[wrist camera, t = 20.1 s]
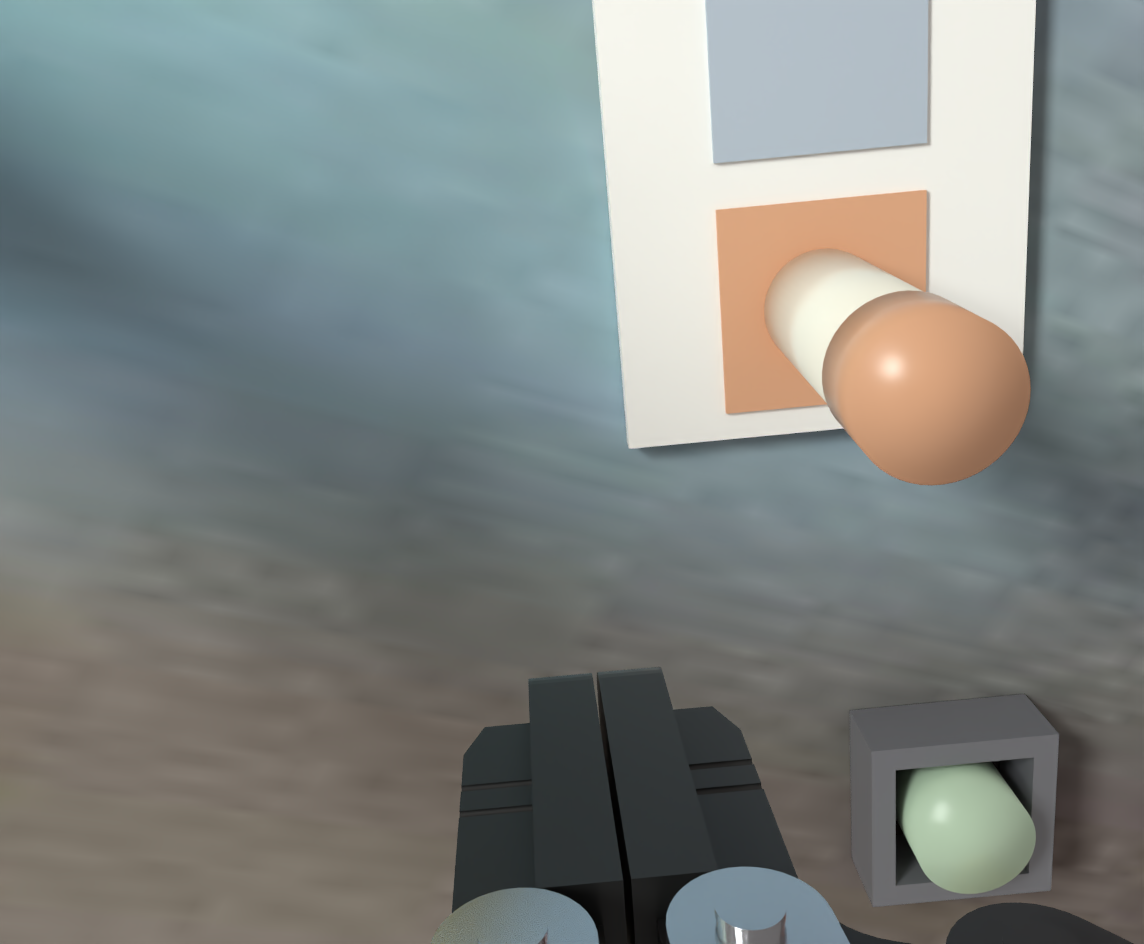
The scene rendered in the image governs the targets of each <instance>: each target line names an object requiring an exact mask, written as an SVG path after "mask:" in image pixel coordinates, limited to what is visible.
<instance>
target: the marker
mask: <svg viewBox="0 0 1144 944" xmlns="http://www.w3.org/2000/svg"><path fill="white" fill-rule="evenodd" d="M764 317H765V324H766V327H767V330H768V333H769V335H770V337H771V339H772V340H773V342H774V343H775V345H776V346H777V347H778V348H779V349H780V350H781V352H782V353H783V354H784V355H785V356H786V357H787V358H788V360H789V361H790V362H791V363H792V364H793V365H794V366H795V368H796V369H797V370H798V371H799V372H800V373H801V374H802V376H803V377H804V378H805V379H806V380H807V381H808V382H809V384H810V385H811V386H812V387H813V388H814V389H815V390H816V392H817V393H818V394H819V395H820V396H821V397H822V398H823V400H824V401H825V402H826V403H827V405H828V407H829V409H830V411H831V413H832V414H833V416H834V417H835V419H836V420H837V421H838V422H839V424H840V425H841V426H842V427H843V428H844V429H845V431H846V432H847V433H848V434H849V435H850V436H851V438H852V439H853V440H854V441H855V442H856V443H857V445H858V446H859V447H860V448H861V449H862V450H863V452H864V453H865V454H866V455H867V456H868V457H869V459H870V460H871V461H872V462H873V463H874V464H875V465H876V466H878V467H879V468H880V469H881V470H883V471H884V472H886V473H887V474H889V475H891V476H893V477H895V478H897V479H899V480H902V481H906V482H909V483H914V484H919V485H942V484H948V483H953V482H957V481H960V480H963V479H966V478H968V477H970V476H972V475H975V474H977V473H979V472H980V471H982V470H983V469H985V468H987V467H988V466H989V465H991V464H992V463H993V462H995V461H996V460H997V459H998V458H999V457H1000V456H1001V455H1002V454H1003V453H1004V452H1005V451H1006V450H1007V449H1008V448H1009V446H1010V445H1011V444H1012V443H1013V441H1014V440H1015V438H1016V436H1017V435H1018V433H1019V431H1020V429H1021V427H1022V425H1023V423H1024V421H1025V418H1026V415H1027V412H1028V407H1029V402H1030V391H1031V386H1030V376H1029V371H1028V367H1027V364H1026V361H1025V359H1024V356H1023V354H1022V352H1021V351H1020V349H1019V347H1018V346H1017V344H1016V343H1015V342H1014V341H1013V339H1012V338H1011V337H1010V336H1009V335H1008V334H1007V333H1006V332H1005V331H1004V330H1002V329H1001V328H999V327H998V326H997V325H995V324H994V323H992V322H990V321H988V320H986V319H984V318H982V317H980V316H978V315H976V314H974V313H972V312H970V311H968V310H966V309H965V308H963V307H961V306H959V305H957V304H955V303H953V302H951V301H949V300H947V299H945V298H943V297H941V296H938V295H935V294H932V293H929V292H923V291H921V290H919V289H917V288H916V287H914V286H912V285H910V284H908V283H906V282H904V281H902V280H900V279H899V278H897V277H895V276H893V275H891V274H889V273H887V272H885V271H883V270H881V269H880V268H878V267H876V266H874V265H872V264H870V263H868V262H866V261H864V260H862V259H861V258H859V257H857V256H855V255H853V254H851V253H849V252H846V251H843V250H838V249H830V248H824V249H816V250H812V251H808V252H806V253H803V254H801V255H799V256H797V257H795V258H794V259H792V260H791V261H789V262H788V263H787V264H786V265H785V266H784V267H783V268H782V269H781V270H780V271H779V272H778V273H777V275H776V276H775V278H774V279H773V281H772V283H771V285H770V287H769V289H768V292H767V295H766V299H765V306H764Z"/></svg>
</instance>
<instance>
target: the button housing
mask: <svg viewBox="0 0 1144 944" xmlns="http://www.w3.org/2000/svg"><path fill="white" fill-rule="evenodd" d="M1058 747H1059V733H1058V732H1057V731H1056V730H1055V729H1054V728H1053V726H1052V725H1051V724H1050V723H1049V722H1048V721H1047V719H1046V718H1045V717H1044V716H1043V715H1042V714H1041V712H1040V711H1039V710H1038V709H1037V708H1036V707H1035V705H1034V704H1033V703H1032V702H1031V701H1030V700H1029V698H1028V697H1027V696H1026V695H1025V694H1018V695H1007V696H997V697H986V698H975V699H965V700H954V701H943V702H933V703H922V704H911V705H901V706H890V707H879V708H869V709H858V710H850V773H851V840H852V859H853V862H854V864H855V866H856V869H857V871H858V874H859V876H860V878H861V881H862V883H863V885H864V888H865V890H866V892H867V895H868V897H869V899H870V902H871V904H872V907H879V906H890V905H900V904H911V903H922V902H933V901H943V900H954V899H965V898H976V897H987V896H997V895H1008V894H1019V893H1030V892H1040V891H1051V880H1052V861H1053V842H1054V823H1055V804H1056V785H1057V766H1058ZM990 761H1000V772H999V773H1000V774H1001V776H1002V777H1003V778H1004V780H1005V781H1006V783H1007V784H1008V785H1009V787H1010V788H1011V790H1012V791H1013V792H1014V794H1015V795H1016V797H1017V798H1018V800H1019V801H1020V802H1021V804H1022V805H1023V807H1024V808H1025V809H1026V811H1027V812H1028V814H1029V815H1030V817H1031V819H1032V821H1033V823H1034V826H1035V831H1036V842H1035V848H1034V851H1033V854H1032V856H1031V858H1030V860H1029V862H1028V863H1027V865H1026V866H1025V868H1024V869H1023V870H1022V871H1021V872H1020V873H1019V874H1018V875H1017V876H1016V877H1015V878H1013V879H1012V880H1011V881H1009V882H1008V883H1006V884H1005V885H1003V886H1001V887H999V888H996V889H994V890H991V891H987V892H983V893H977V894H961V893H955V892H951V891H948V890H945V889H943V888H941V887H939V886H938V885H936V884H935V883H933V882H932V881H931V880H930V879H929V878H928V877H927V876H926V875H925V873H924V871H923V870H922V868H921V866H920V864H919V862H918V860H917V858H916V856H915V855H914V853H913V851H912V849H911V847H910V845H909V843H908V841H907V839H906V837H905V835H896V770H905V769H915V768H926V767H937V766H948V765H958V764H969V763H980V762H990Z"/></svg>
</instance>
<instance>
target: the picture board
mask: <svg viewBox="0 0 1144 944" xmlns="http://www.w3.org/2000/svg"><path fill="white" fill-rule="evenodd" d="M592 6H593V19H594V31H595V44H596V56H597V69H598V82H599V94H600V107H601V119H602V132H603V145H604V157H605V170H606V182H607V195H608V208H609V220H610V233H611V245H612V258H613V271H614V283H615V296H616V308H617V321H618V334H619V346H620V359H621V371H622V384H623V397H624V409H625V422H626V434H627V443H628V447H629V449H633V448H643V447H654V446H664V445H675V444H685V443H696V442H707V441H717V440H728V439H738V438H749V437H759V436H770V435H780V434H791V433H801V432H812V431H822V430H833V429H843V427H842V426H841V425H840V424H839V422H838V421H837V420H836V419H835V417H834V416H833V414H832V413H831V411H830V409H829V407H828V405H827V403H826V402H825V401H824V400H823V398H822V397H821V396H820V395H819V394H818V393H817V392H816V390H815V389H814V388H813V387H812V386H811V385H810V384H809V382H808V381H807V380H806V379H805V378H804V377H803V376H802V374H801V373H800V372H799V371H798V370H797V369H796V368H795V366H794V365H793V364H792V363H791V362H790V361H789V360H788V358H787V357H786V356H785V355H784V354H783V353H782V352H781V350H780V349H779V348H778V347H777V346H776V345H775V343H774V342H773V340H772V339H771V337H770V335H769V333H768V330H767V327H766V324H765V317H764V306H765V299H766V295H767V292H768V289H769V287H770V285H771V283H772V281H773V279H774V278H775V276H776V275H777V273H778V272H779V271H780V270H781V269H782V268H783V267H784V266H785V265H786V264H787V263H788V262H789V261H791V260H792V259H794V258H795V257H797V256H799V255H801V254H803V253H806V252H808V251H812V250H816V249H824V248H830V249H838V250H843V251H846V252H849V253H851V254H853V255H855V256H857V257H859V258H861V259H862V260H864V261H866V262H868V263H870V264H872V265H874V266H876V267H878V268H880V269H881V270H883V271H885V272H887V273H889V274H891V275H893V276H895V277H897V278H899V279H900V280H902V281H904V282H906V283H908V284H910V285H912V286H914V287H916V288H917V289H919V290H921V291H923V292H929V293H932V294H935V295H938V296H941V297H943V298H945V299H947V300H949V301H951V302H953V303H955V304H957V305H959V306H961V307H963V308H965V309H966V310H968V311H970V312H972V313H974V314H976V315H978V316H980V317H982V318H984V319H986V320H988V321H990V322H992V323H994V324H995V325H997V326H998V327H999V328H1001V329H1002V330H1004V331H1005V332H1006V333H1007V334H1008V335H1009V336H1010V337H1011V338H1012V339H1013V341H1014V342H1015V343H1016V344H1017V346H1018V347H1019V349H1020V351H1021V352H1022V354H1023V341H1024V313H1025V286H1026V259H1027V231H1028V204H1029V177H1030V150H1031V122H1032V95H1033V68H1034V40H1035V13H1036V0H592Z"/></svg>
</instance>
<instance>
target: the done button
mask: <svg viewBox="0 0 1144 944" xmlns="http://www.w3.org/2000/svg"><path fill="white" fill-rule="evenodd" d="M896 819H897V821H898V823H899V825H900V827H901V829H902V831H903V833H904V835H905V837H906V839H907V841H908V843H909V845H910V847H911V849H912V851H913V853H914V855H915V856H916V858H917V860H918V862H919V864H920V866H921V868H922V870H923V871H924V873H925V875H926V876H927V877H928V878H929V879H930V880H931V881H932V882H933V883H935V884H936V885H938V886H939V887H941V888H943V889H945V890H948V891H951V892H955V893H961V894H977V893H983V892H987V891H991V890H994V889H996V888H999V887H1001V886H1003V885H1005V884H1006V883H1008V882H1009V881H1011V880H1012V879H1013V878H1015V877H1016V876H1017V875H1018V874H1019V873H1020V872H1021V871H1022V870H1023V869H1024V868H1025V866H1026V865H1027V863H1028V862H1029V860H1030V858H1031V856H1032V854H1033V851H1034V848H1035V842H1036V831H1035V826H1034V823H1033V821H1032V819H1031V817H1030V815H1029V814H1028V812H1027V811H1026V809H1025V808H1024V807H1023V805H1022V804H1021V802H1020V801H1019V800H1018V798H1017V797H1016V795H1015V794H1014V792H1013V791H1012V790H1011V788H1010V787H1009V785H1008V784H1007V783H1006V781H1005V780H1004V778H1003V777H1002V776H1001V774H1000V773H999V771H998V770H997V769H996V767H995V766H994V764H993V763H992V762H991V761H990V762H980V763H969V764H958V765H948V766H937V767H926V768H915V769H905V770H896Z"/></svg>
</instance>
